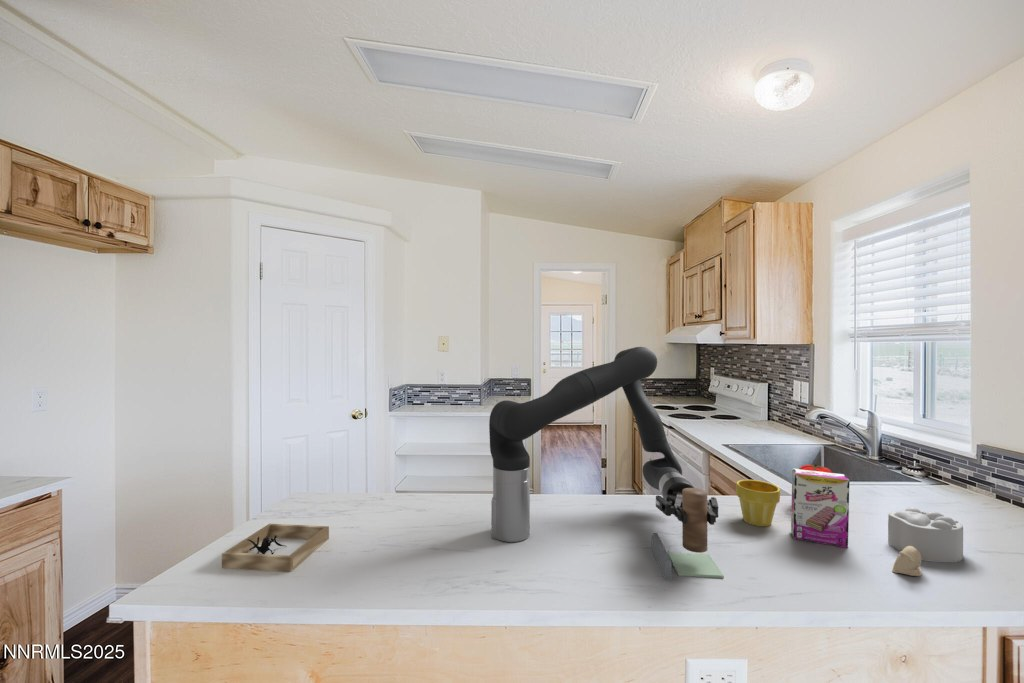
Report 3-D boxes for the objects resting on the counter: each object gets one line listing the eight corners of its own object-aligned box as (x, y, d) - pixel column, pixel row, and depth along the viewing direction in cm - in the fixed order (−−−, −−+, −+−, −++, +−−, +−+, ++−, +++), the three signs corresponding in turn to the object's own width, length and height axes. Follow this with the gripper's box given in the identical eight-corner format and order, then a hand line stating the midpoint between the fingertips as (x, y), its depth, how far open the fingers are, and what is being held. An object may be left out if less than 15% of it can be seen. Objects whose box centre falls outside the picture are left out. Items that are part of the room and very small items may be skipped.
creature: (253, 551, 104) (240, 560, 97) (255, 527, 106) (242, 534, 98) (289, 548, 106) (280, 556, 99) (290, 524, 107) (281, 530, 100)
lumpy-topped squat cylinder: (881, 540, 108) (881, 504, 108) (937, 541, 108) (937, 505, 108) (917, 561, 98) (917, 522, 98) (979, 563, 97) (980, 523, 97)
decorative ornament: (926, 570, 94) (926, 545, 94) (913, 582, 89) (913, 556, 89) (901, 562, 97) (901, 538, 97) (888, 573, 93) (888, 548, 93)
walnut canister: (686, 552, 94) (686, 495, 94) (679, 541, 99) (679, 487, 99) (710, 553, 93) (710, 496, 93) (703, 542, 98) (703, 488, 98)
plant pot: (788, 529, 114) (789, 491, 114) (748, 529, 114) (748, 492, 114) (765, 514, 124) (765, 479, 124) (728, 514, 124) (728, 479, 124)
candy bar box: (793, 540, 108) (794, 473, 108) (790, 532, 113) (790, 467, 113) (849, 549, 103) (850, 479, 103) (844, 540, 108) (844, 473, 108)
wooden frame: (221, 567, 95) (221, 553, 95) (269, 535, 110) (269, 523, 110) (290, 571, 93) (290, 557, 93) (328, 538, 109) (328, 526, 109)
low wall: (665, 579, 90) (665, 560, 90) (651, 549, 103) (651, 532, 103) (671, 580, 90) (671, 560, 90) (657, 550, 103) (657, 532, 103)
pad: (678, 575, 92) (678, 573, 92) (667, 554, 101) (667, 552, 101) (723, 578, 91) (723, 575, 91) (709, 556, 100) (709, 554, 100)
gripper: (647, 475, 111) (663, 500, 94) (707, 477, 109) (734, 503, 92) (647, 505, 111) (663, 536, 94) (707, 507, 109) (734, 538, 92)
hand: (698, 519), depth 93 cm, fingers closed on walnut canister, 5 cm apart
